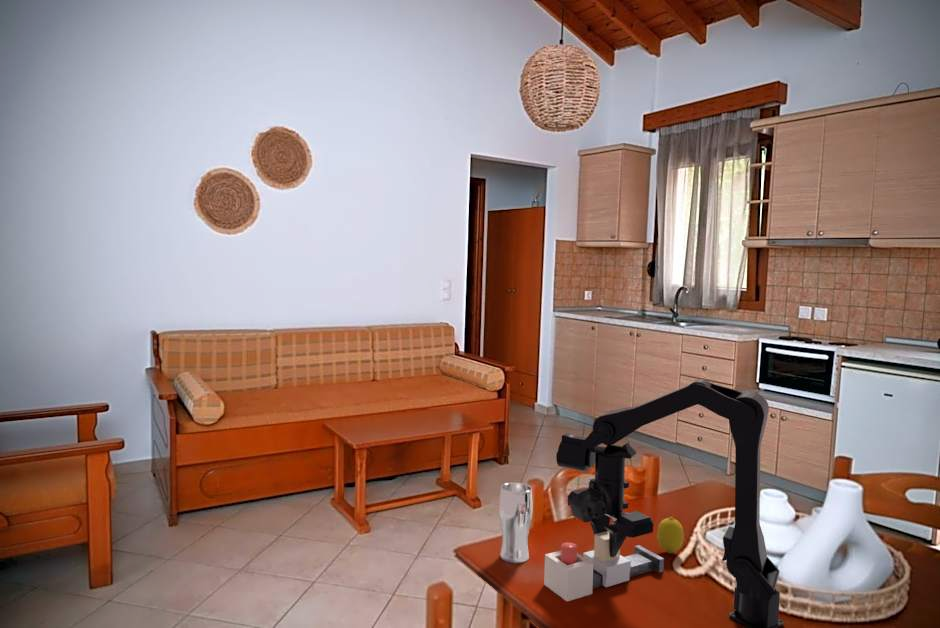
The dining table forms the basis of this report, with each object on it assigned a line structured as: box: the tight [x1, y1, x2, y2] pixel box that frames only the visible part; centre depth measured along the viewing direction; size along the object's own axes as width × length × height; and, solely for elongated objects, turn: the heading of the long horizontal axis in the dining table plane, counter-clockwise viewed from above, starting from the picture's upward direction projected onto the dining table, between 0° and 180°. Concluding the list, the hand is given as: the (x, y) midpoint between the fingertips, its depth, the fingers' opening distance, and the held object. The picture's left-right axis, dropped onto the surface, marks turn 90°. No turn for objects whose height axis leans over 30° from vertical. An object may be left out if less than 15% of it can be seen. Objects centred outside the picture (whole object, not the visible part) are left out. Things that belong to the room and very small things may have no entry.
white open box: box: [543, 550, 594, 602], centre depth 118 cm, size 7×6×6 cm
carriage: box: [582, 531, 631, 588], centre depth 122 cm, size 7×6×8 cm
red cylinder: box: [560, 541, 578, 565], centre depth 118 cm, size 3×3×5 cm
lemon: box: [656, 516, 685, 554], centre depth 134 cm, size 6×6×8 cm
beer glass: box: [498, 481, 534, 564], centre depth 131 cm, size 7×7×15 cm
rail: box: [592, 544, 665, 589], centre depth 124 cm, size 7×17×3 cm, turn 120°
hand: (606, 553), depth 122 cm, fingers closed on carriage, 3 cm apart
